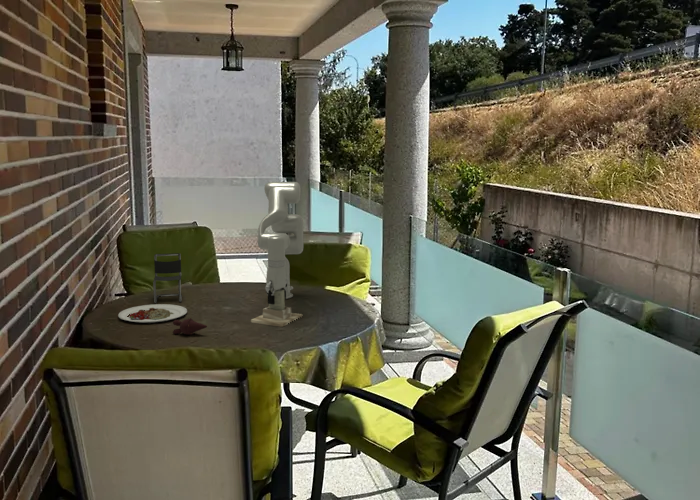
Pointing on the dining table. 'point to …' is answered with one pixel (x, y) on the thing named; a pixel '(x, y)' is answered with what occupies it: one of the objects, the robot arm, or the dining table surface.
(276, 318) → the socket stand
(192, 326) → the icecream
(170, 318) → the plated food
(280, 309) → the skincare box
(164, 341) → the dining table surface
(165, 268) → the chair
